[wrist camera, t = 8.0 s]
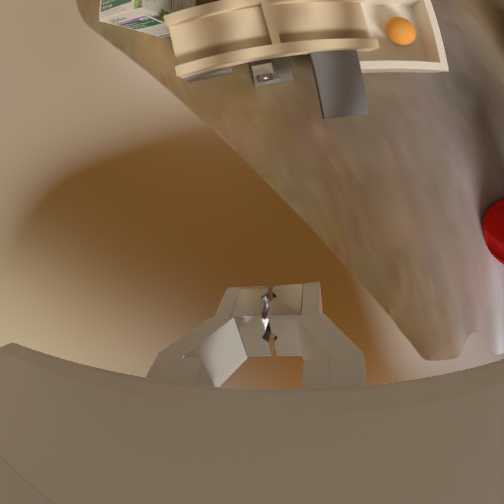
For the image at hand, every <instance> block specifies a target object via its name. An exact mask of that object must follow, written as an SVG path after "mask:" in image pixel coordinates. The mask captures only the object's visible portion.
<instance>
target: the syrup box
mask: <svg viewBox="0 0 504 504" xmlns="http://www.w3.org/2000/svg"><path fill="white" fill-rule="evenodd" d="M196 3H197V1H196V0H100V9H99V21H100V22H105V23H109V24H114V25H118V26H122V27H126V28H130V29H133V30H137V31H140V32H144V33H147V34H151V35H154V36H158V37H161V38H162V37H168V36H171V35H170V31H169V27H168V26H167V25H166V24H165V21H164V17H163V16H164V15H168V14H171V13H174V12H177V11H180V10H184V9H187V8H191V7H195V6H196Z"/></svg>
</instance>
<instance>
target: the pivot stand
mask: <svg viewBox="0 0 504 504" xmlns="http://www.w3.org/2000/svg"><path fill="white" fill-rule="evenodd" d="M250 66H251V70H252V74H253V78H254V83H255V87H261V86H266V85H271V84H277V83H283V82H289V81H294V77H293V73H292V68H291V64H290V60H289V56H285V57H278V58H271V59H264V60H259V61H253V62H250Z"/></svg>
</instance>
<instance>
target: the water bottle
mask: <svg viewBox="0 0 504 504" xmlns="http://www.w3.org/2000/svg"><path fill="white" fill-rule="evenodd" d="M483 232H484V236H485V242H486V244H487V247H488V249H489V251H490V252H491V254H492V255H493V256H494V257H495V258H496V259H497V260H498V261H499V262H501V263H502V264H504V198H503V199H502V200H501V201H500V202H498V203H496V204H494V205H492V206H491V207H490V208H489V209H488V210H487V211H486V213H485V216H484V218H483Z"/></svg>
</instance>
